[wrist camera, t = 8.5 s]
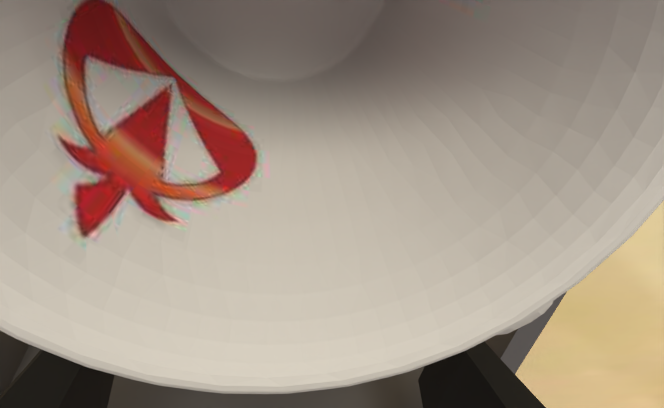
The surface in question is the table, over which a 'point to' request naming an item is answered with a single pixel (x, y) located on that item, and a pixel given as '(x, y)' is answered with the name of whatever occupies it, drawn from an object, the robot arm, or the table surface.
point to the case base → (331, 404)
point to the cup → (313, 178)
